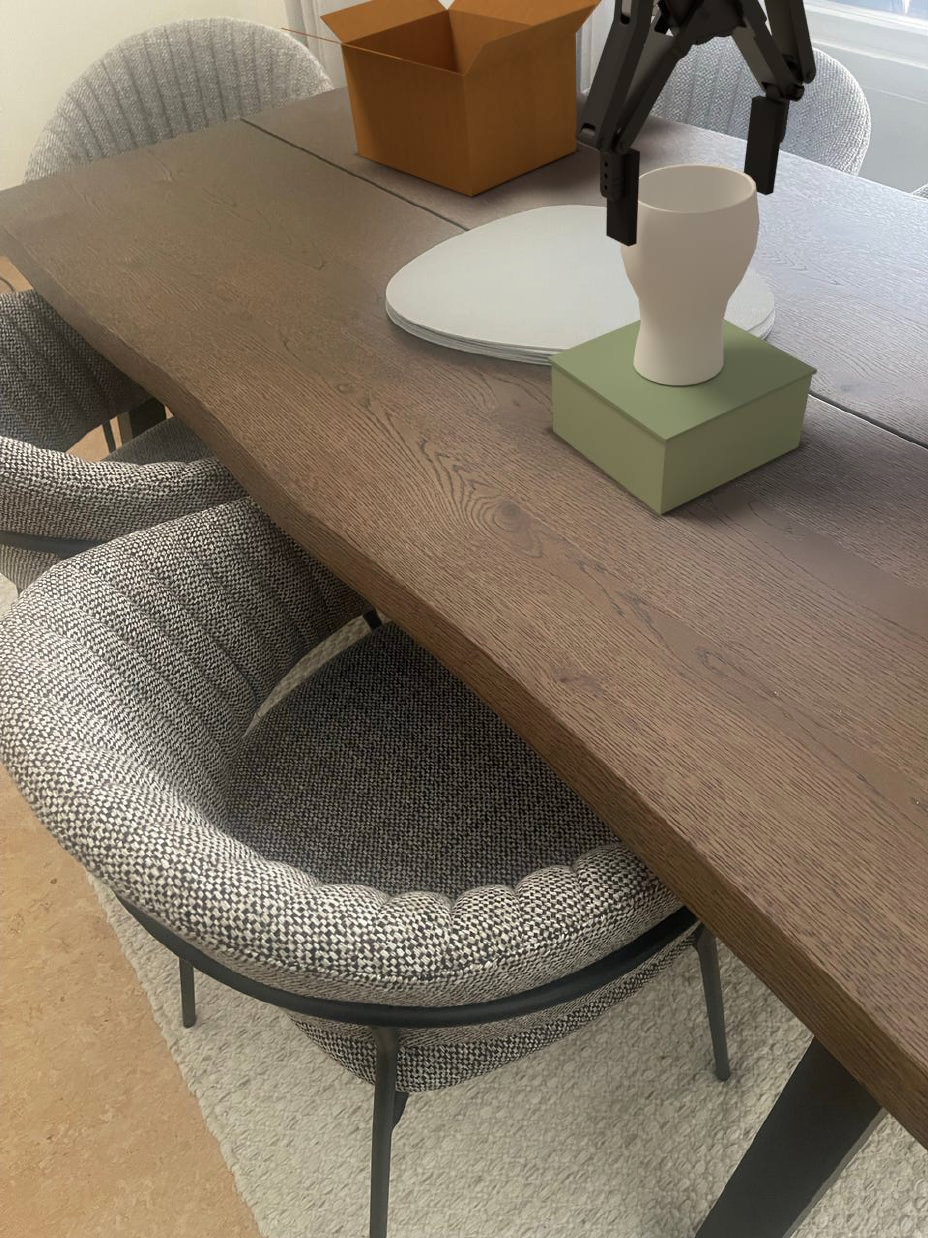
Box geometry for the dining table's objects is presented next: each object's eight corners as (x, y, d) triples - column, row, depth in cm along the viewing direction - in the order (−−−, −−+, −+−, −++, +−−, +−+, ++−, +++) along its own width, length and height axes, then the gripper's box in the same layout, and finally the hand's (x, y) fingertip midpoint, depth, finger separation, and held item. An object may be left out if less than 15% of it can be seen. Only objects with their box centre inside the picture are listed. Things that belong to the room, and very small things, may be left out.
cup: (713, 407, 77) (733, 224, 66) (596, 379, 81) (597, 204, 71) (758, 345, 83) (784, 169, 72) (647, 323, 87) (655, 154, 77)
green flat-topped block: (801, 447, 85) (817, 369, 79) (659, 517, 80) (665, 439, 74) (682, 373, 95) (688, 299, 90) (550, 431, 90) (547, 357, 85)
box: (440, 227, 126) (421, 54, 111) (291, 166, 147) (259, 14, 132) (637, 139, 142) (644, -23, 127) (477, 95, 163) (467, -48, 148)
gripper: (820, -169, 64) (776, 158, 79) (516, -103, 56) (530, 246, 71) (911, -166, 59) (845, 182, 74) (591, -93, 51) (590, 279, 66)
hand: (691, 214), depth 72 cm, fingers open, 13 cm apart
